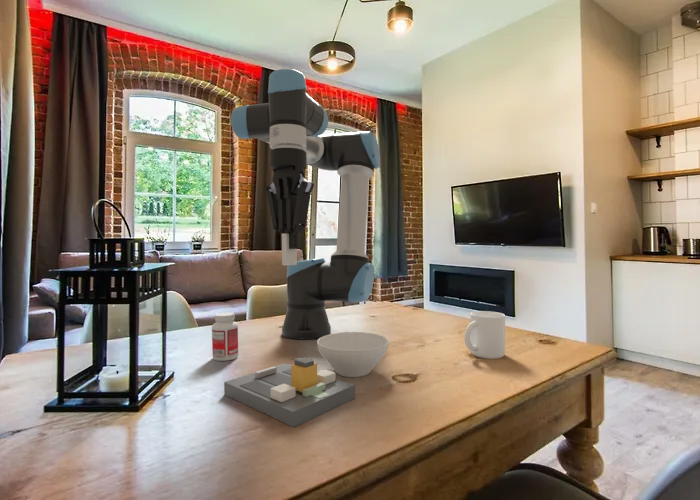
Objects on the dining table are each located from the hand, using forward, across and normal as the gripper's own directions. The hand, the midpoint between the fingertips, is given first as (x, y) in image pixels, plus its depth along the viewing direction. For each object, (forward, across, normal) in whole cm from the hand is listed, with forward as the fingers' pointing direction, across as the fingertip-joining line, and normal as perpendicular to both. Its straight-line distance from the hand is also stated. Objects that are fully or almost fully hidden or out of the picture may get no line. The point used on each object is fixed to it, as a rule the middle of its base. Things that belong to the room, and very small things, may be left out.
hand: (289, 264), depth 83 cm
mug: (+25, +23, +43) cm, 55 cm away
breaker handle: (+22, +10, -6) cm, 25 cm away
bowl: (+25, +6, +13) cm, 28 cm away
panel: (+24, +6, -6) cm, 26 cm away
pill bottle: (+25, -25, 0) cm, 35 cm away
